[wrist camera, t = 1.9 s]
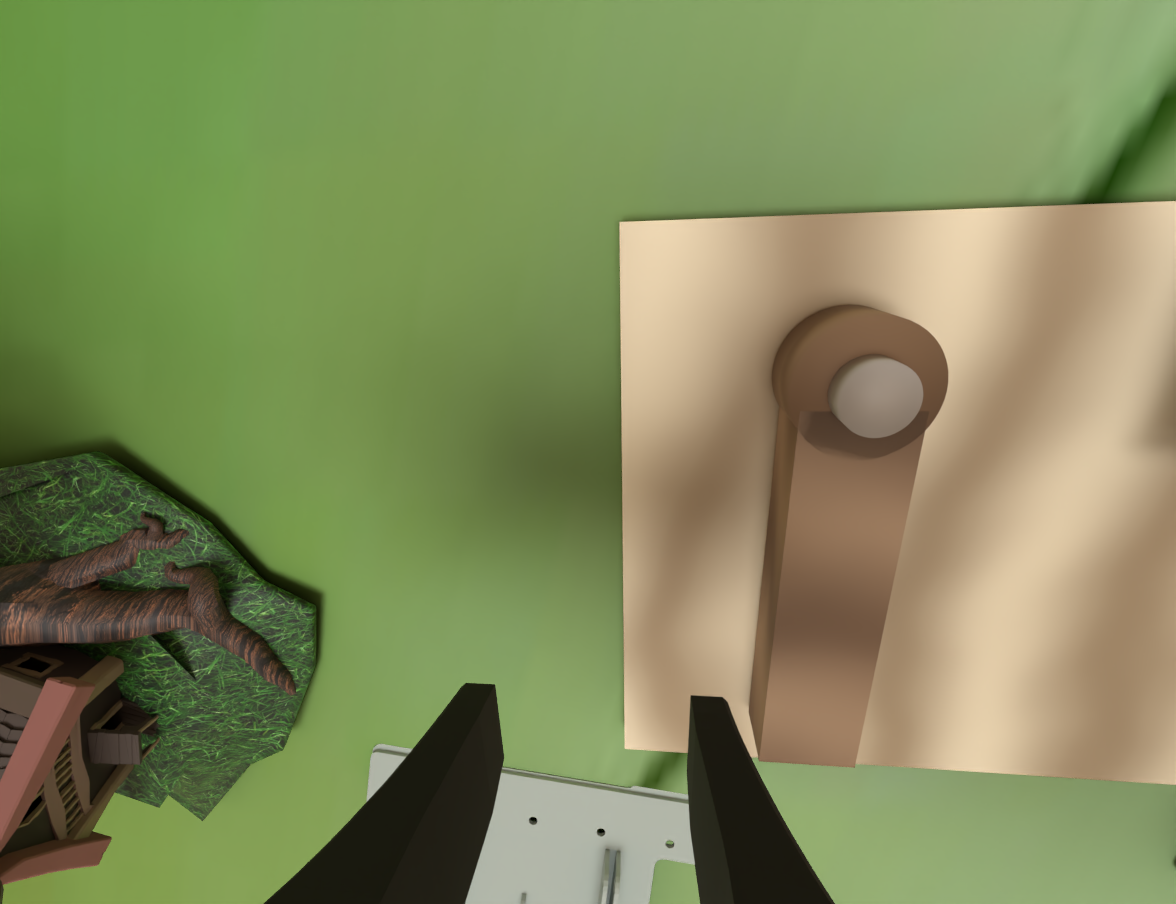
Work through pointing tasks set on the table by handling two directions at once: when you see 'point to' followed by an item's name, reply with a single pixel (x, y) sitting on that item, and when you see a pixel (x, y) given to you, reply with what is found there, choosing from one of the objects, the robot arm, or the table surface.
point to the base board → (922, 477)
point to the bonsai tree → (128, 658)
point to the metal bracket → (567, 837)
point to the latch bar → (836, 522)
